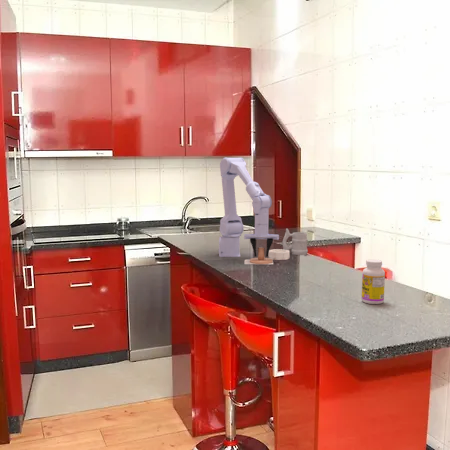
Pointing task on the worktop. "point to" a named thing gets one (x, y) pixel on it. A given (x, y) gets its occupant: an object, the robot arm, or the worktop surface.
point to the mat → (251, 263)
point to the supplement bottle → (373, 282)
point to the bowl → (279, 254)
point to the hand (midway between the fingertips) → (261, 256)
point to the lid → (261, 257)
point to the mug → (296, 243)
